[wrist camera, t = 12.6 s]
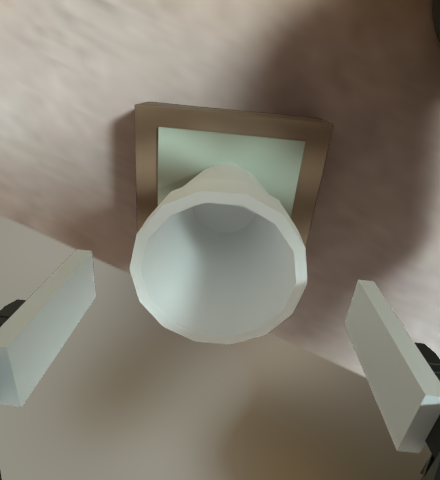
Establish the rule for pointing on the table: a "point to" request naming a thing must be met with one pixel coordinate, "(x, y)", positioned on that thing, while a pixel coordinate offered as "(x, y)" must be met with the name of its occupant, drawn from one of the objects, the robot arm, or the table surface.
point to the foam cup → (219, 259)
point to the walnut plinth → (229, 153)
